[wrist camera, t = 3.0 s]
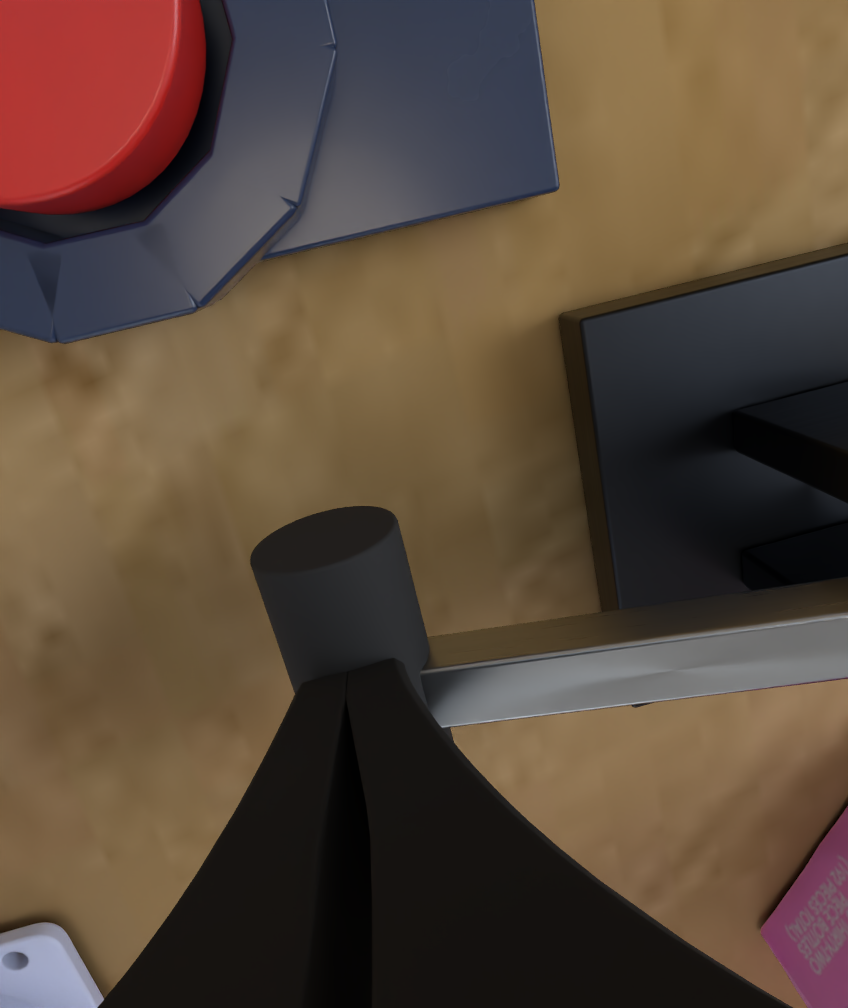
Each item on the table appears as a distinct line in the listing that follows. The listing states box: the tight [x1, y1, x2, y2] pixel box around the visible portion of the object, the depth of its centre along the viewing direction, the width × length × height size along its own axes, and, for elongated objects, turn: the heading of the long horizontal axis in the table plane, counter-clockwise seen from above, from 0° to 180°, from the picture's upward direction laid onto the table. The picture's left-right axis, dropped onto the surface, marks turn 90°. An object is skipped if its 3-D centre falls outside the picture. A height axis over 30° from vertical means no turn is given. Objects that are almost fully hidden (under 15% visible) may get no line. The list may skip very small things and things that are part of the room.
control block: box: [0, 0, 559, 344], centre depth 9 cm, size 10×7×3 cm
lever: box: [250, 506, 848, 742], centre depth 9 cm, size 11×5×2 cm, turn 103°
